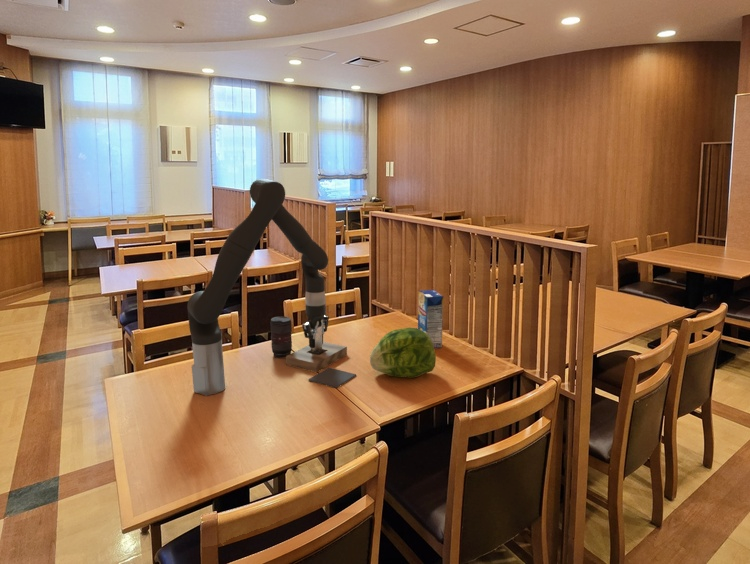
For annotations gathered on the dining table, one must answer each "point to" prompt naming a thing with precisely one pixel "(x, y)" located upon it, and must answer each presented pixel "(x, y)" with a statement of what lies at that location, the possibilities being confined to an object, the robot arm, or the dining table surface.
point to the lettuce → (404, 353)
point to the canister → (317, 342)
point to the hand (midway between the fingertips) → (316, 345)
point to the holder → (316, 357)
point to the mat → (332, 377)
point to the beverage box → (431, 315)
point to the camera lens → (281, 336)
